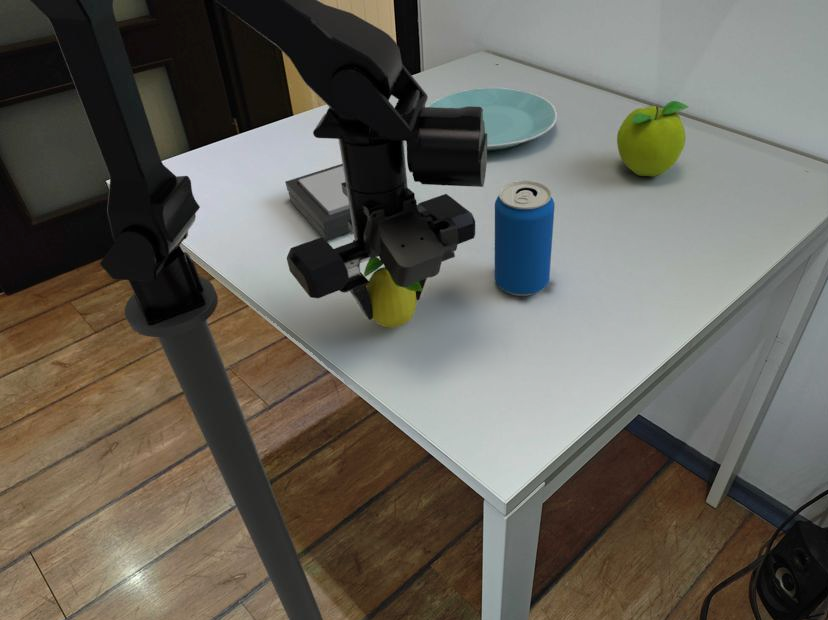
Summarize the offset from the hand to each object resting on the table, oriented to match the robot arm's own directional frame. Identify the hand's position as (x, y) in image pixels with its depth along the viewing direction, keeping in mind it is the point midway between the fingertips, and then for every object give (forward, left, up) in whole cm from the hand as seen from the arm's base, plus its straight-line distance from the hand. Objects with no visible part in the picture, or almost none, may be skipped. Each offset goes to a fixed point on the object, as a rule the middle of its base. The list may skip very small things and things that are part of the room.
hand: (392, 307), depth 73 cm
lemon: (0, 0, -3) cm, 3 cm away
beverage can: (+16, -2, -3) cm, 17 cm away
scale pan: (+7, +26, -1) cm, 27 cm away
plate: (+36, +34, -3) cm, 50 cm away
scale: (+7, +26, -3) cm, 27 cm away
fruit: (+47, +9, -3) cm, 48 cm away
